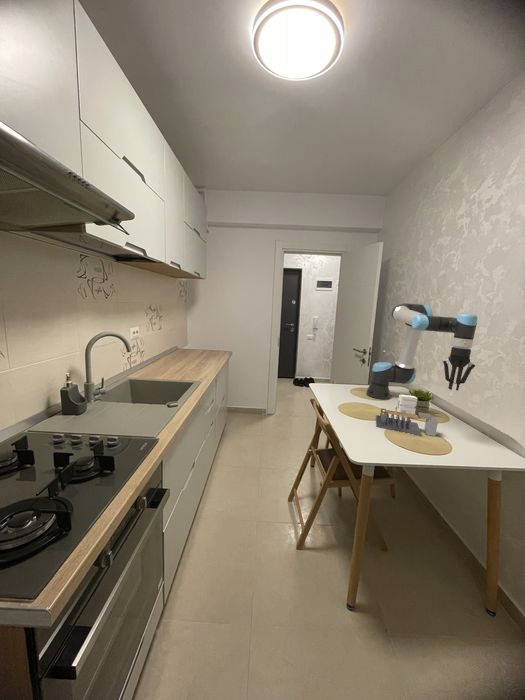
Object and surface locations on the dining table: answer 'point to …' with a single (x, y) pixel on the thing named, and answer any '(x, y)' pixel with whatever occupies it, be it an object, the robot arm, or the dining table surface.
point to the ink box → (407, 404)
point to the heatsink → (397, 423)
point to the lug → (429, 423)
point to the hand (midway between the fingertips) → (451, 396)
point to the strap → (399, 413)
